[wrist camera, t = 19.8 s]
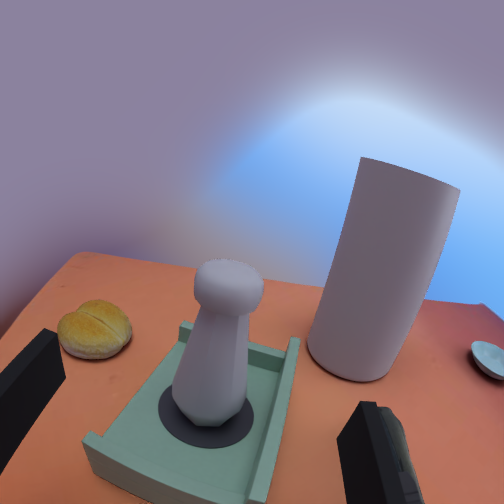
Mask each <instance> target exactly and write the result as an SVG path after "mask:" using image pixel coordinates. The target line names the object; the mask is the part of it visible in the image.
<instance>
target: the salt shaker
mask: <svg viewBox="0 0 504 504" xmlns="http://www.w3.org/2000/svg"><path fill="white" fill-rule="evenodd" d="M263 290H264V282H263V279H262V277H261V276H260V274H259V272H258V271H257V270H256V269H254V268H253V267H252V266H250V265H248V264H245V263H242V262H240V261H235V260H230V259H214V260H209V261H207V262H206V263H204V264H203V265H202V266H201V267H199V268H198V269H197V272H196V275H195V280H194V296H195V299H196V300H197V301H198V302H199V304H200V305H201V307H200V310H199V313H198V315H197V318H196V320H195V323H194V326H193V328H192V331H191V333H190V336H189V339H188V341H187V344H186V347H185V349H184V352H183V355H182V357H181V360H180V363H179V365H178V368H177V371H176V373H175V376H174V379H173V382H172V396H173V399H174V400H175V402H176V404H177V405H178V407H179V409H180V410H181V412H182V413H183V414H184V415H185V416H186V417H187V418H189V419H190V420H191V421H192V422H193V423H194V424H195V425H196V426H214V427H219V426H221V425H222V424H223V423H224V422H225V421H226V420H228V419H229V418H231V417H232V416H234V415H235V414H237V413H238V412H239V411H240V410H241V408H242V406H243V403H244V401H245V399H246V393H247V364H248V336H249V313H251V312H253V311H255V309H256V308H257V306H258V304H259V303H260V301H261V298H262V295H263Z"/></svg>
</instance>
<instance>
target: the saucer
mask: <svg viewBox="0 0 504 504" xmlns="http://www.w3.org/2000/svg"><path fill="white" fill-rule="evenodd" d="M471 349H472V354H473V357H474V360H475V362H476V363H477V365H478V366H479V368H480V369H481V370H482V371H483V372H484V373H486V374H487V375H489V376H490V377H492V378H495V379H499V380H504V350H502V349H501V348H499V347H497V346H495V345H493V344H491V343H488V342H484V341H475V342H473V343H472V345H471Z"/></svg>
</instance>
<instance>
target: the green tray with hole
mask: <svg viewBox="0 0 504 504" xmlns="http://www.w3.org/2000/svg"><path fill="white" fill-rule="evenodd" d="M193 326H194V324H193V323H190V322H188V321H185V320H184V321H183V322H182V324H181V325H180V327H179V338H178V342H177V343H176V344H175V346H174V347H173V348H172V349H171V351H170V352H169V353H168V354H167V356H166V357H165V358H164V359H163V361H162V362H161V363H160V364H159V366H158V367H157V368H156V369H155V371H154V372H153V373H152V374H151V376H150V377H149V378H148V379H147V381H146V382H145V383H144V384H143V386H142V387H141V388H140V389H139V391H138V392H137V393H136V394H135V396H134V397H133V398H132V399H131V401H130V402H129V403H128V404H127V406H126V407H125V408H124V409H123V411H122V412H121V413H120V414H119V416H118V417H117V418H116V420H115V421H114V422H113V423H112V425H111V426H110V427H109V428H108V430H107V431H106V432H105V433H104V435H103V436H102V437H101V436H99V435H97V434H96V433H94V432H92V431H90V432H89V433H88V434H87V435H86V436H85V437H84V439H83V440H82V444H83V447H84V449H85V452H86V455H87V457H88V460H89V462H90V465H91V467H92V470H93V472H94V473H95V474H96V475H98V476H100V477H101V478H103V479H105V480H107V481H109V482H110V483H112V484H114V485H116V486H118V487H120V488H122V489H124V490H126V491H128V492H130V493H132V494H134V495H136V496H138V497H140V498H142V499H144V500H147V501H149V502H151V503H153V504H265V502H266V499H267V495H268V491H269V487H270V483H271V479H272V475H273V471H274V467H275V463H276V459H277V454H278V450H279V446H280V441H281V437H282V432H283V428H284V423H285V418H286V414H287V409H288V404H289V399H290V394H291V389H292V384H293V379H294V373H295V368H296V363H297V357H298V351H299V346H300V339H299V338H296V337H292V336H291V338H290V341H289V344H288V347H287V350H286V352H284V351H281V350H277V349H274V348H270V347H267V346H263V345H260V344H256V343H253V342H250V341H248V364H247V393H246V399H245V401H244V403H243V406H242V408H241V410H240V411H239V412H238V413H237V414H235V415H234V416H232V417H231V418H229V419H228V420H226V421H225V422H224V423H223V424H222V425H221V426H219V427H214V426H196V425H195V424H194V423H193V422H192V421H191V420H190V419H189V418H187V417H186V416H185V415H184V414H183V413H182V412H181V410H180V409H179V407H178V405H177V404H176V402H175V400H174V399H173V396H172V382H173V379H174V376H175V373H176V371H177V368H178V365H179V363H180V360H181V357H182V355H183V352H184V349H185V347H186V344H187V341H188V339H189V336H190V333H191V331H192V328H193Z"/></svg>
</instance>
